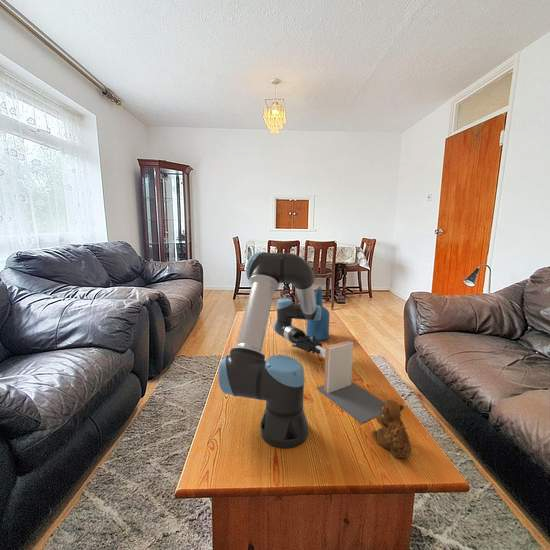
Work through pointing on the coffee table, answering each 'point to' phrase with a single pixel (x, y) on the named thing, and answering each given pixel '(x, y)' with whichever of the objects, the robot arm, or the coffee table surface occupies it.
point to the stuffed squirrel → (392, 430)
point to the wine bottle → (322, 326)
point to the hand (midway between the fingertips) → (326, 354)
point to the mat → (355, 402)
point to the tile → (338, 366)
